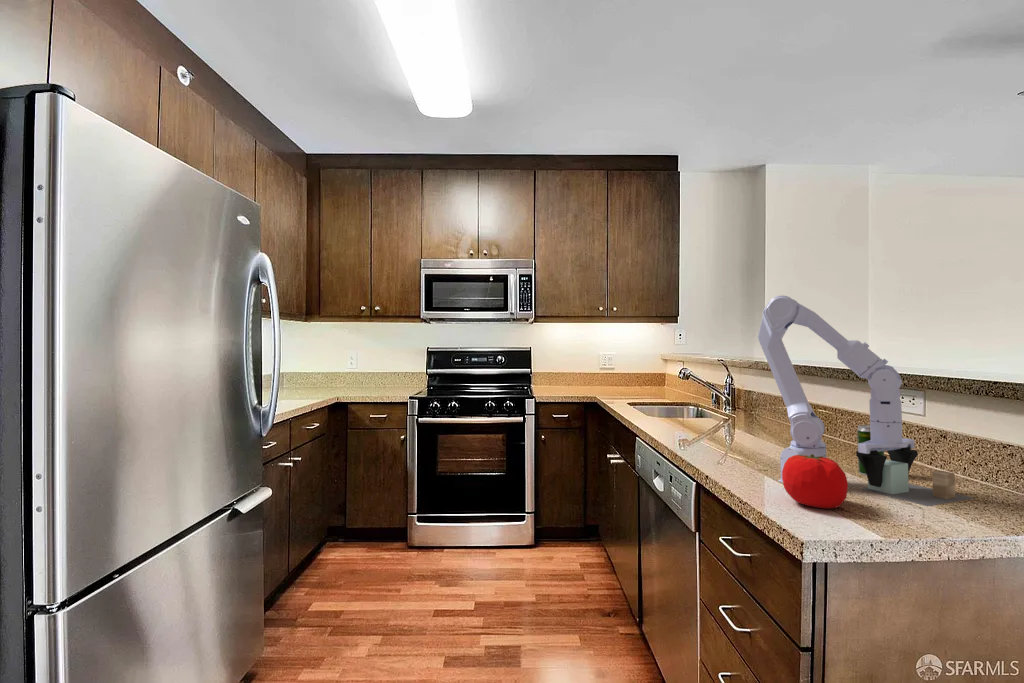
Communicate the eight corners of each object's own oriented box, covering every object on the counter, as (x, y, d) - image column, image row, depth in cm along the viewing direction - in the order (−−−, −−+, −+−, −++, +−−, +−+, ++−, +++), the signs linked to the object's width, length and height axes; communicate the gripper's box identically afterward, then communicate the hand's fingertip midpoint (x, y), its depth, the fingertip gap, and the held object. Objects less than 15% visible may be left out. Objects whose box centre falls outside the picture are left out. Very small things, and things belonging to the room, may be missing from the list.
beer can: (888, 475, 131) (886, 426, 131) (880, 479, 127) (879, 428, 127) (863, 471, 135) (861, 424, 135) (855, 475, 131) (853, 426, 132)
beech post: (946, 499, 108) (945, 474, 109) (933, 495, 111) (932, 471, 111) (955, 497, 109) (954, 473, 109) (941, 494, 112) (940, 470, 112)
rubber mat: (927, 508, 104) (927, 506, 104) (860, 490, 117) (860, 489, 117) (975, 500, 109) (975, 498, 109) (904, 484, 122) (904, 482, 122)
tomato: (825, 517, 100) (824, 462, 100) (768, 501, 111) (767, 451, 112) (865, 509, 104) (863, 457, 104) (806, 494, 116) (804, 446, 116)
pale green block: (891, 494, 113) (890, 465, 113) (868, 488, 118) (867, 461, 118) (908, 491, 114) (907, 463, 114) (884, 486, 119) (884, 459, 119)
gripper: (879, 425, 110) (882, 492, 110) (928, 421, 115) (930, 484, 115) (848, 421, 117) (850, 484, 117) (895, 417, 122) (897, 477, 121)
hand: (888, 484), depth 116 cm, fingers open, 7 cm apart
